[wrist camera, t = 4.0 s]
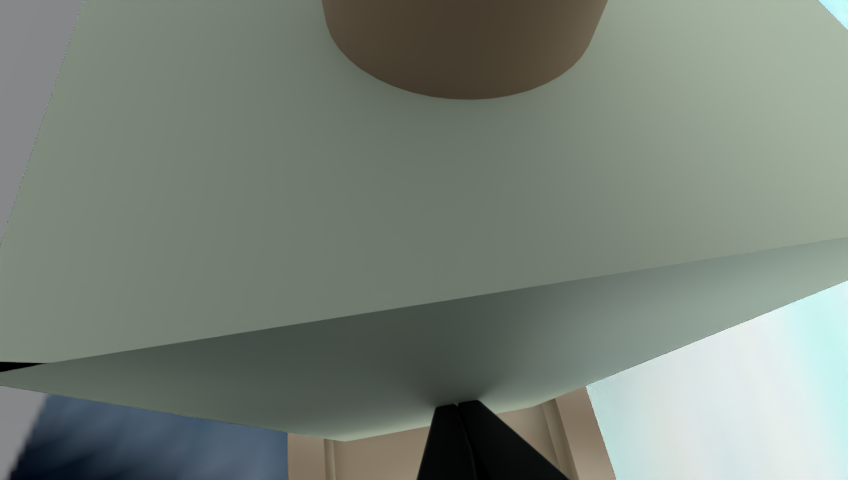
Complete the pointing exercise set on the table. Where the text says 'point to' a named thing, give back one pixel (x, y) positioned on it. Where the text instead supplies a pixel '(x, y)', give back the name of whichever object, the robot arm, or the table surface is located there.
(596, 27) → the sliding block
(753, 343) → the table surface
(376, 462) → the birch rail
